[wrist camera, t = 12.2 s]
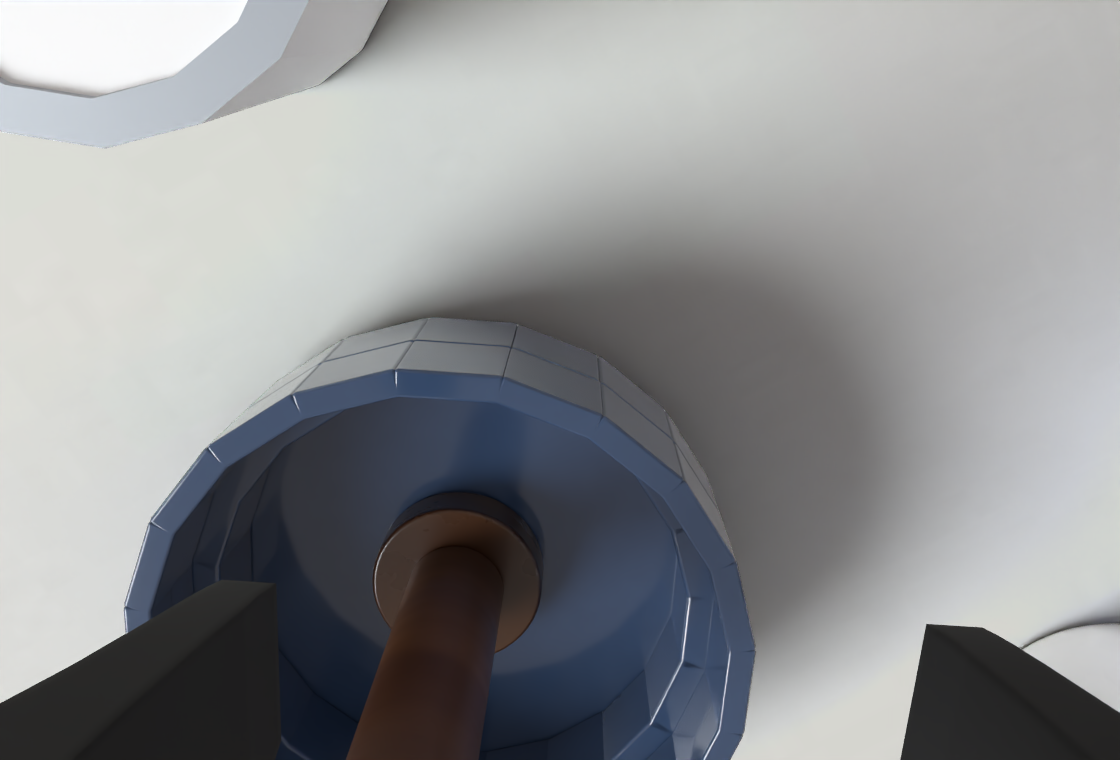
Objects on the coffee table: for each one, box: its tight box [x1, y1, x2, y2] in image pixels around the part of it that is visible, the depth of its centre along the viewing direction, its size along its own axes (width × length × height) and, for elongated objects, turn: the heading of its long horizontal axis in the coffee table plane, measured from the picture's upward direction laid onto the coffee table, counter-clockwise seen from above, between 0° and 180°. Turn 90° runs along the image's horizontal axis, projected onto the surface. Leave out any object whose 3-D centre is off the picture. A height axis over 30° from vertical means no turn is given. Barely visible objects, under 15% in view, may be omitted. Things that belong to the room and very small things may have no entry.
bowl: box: [124, 317, 756, 760], centre depth 19 cm, size 11×11×4 cm
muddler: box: [346, 492, 543, 760], centre depth 17 cm, size 4×4×9 cm
